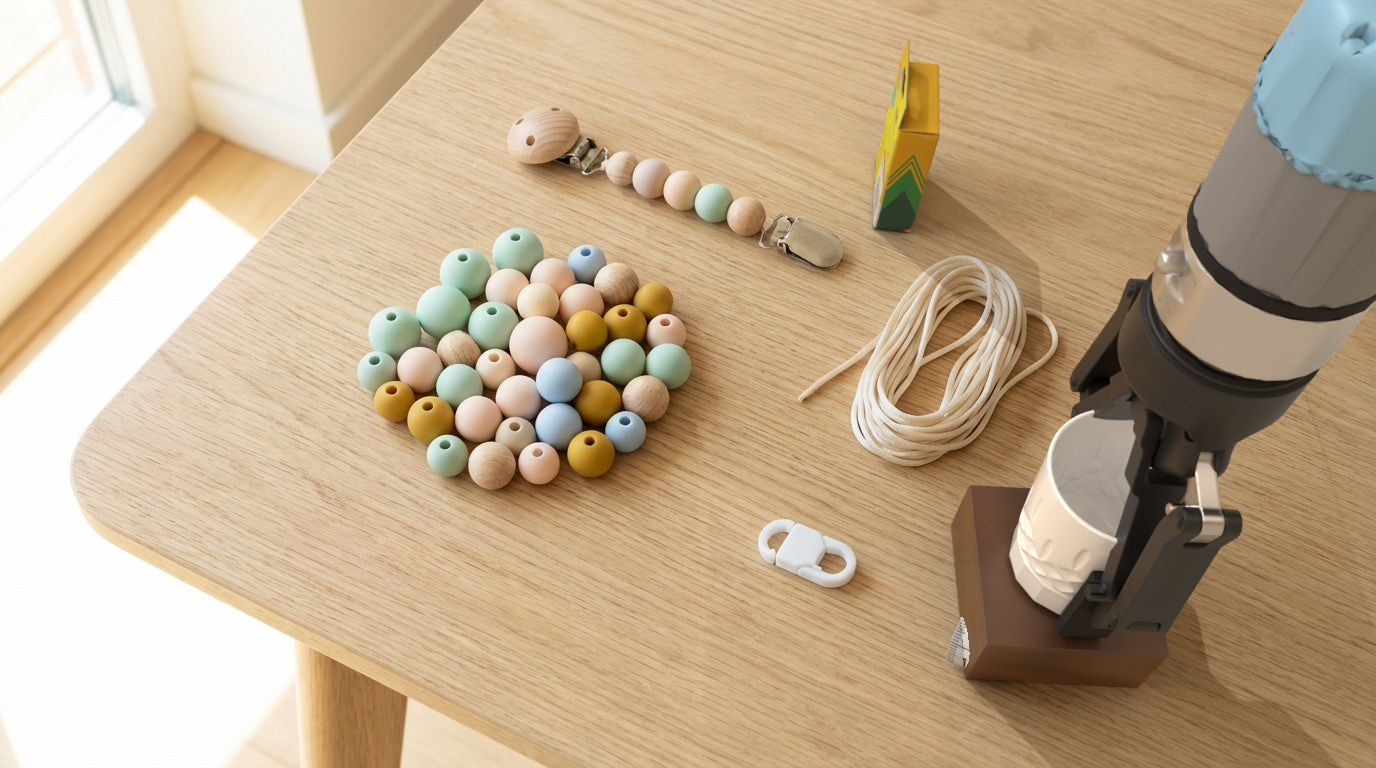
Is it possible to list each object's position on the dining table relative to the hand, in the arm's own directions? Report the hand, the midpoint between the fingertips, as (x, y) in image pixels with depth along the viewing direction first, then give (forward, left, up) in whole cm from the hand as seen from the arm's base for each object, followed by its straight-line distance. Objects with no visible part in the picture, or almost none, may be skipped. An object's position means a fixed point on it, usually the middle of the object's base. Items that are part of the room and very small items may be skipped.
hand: (1070, 561), depth 68 cm
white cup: (0, 0, 0) cm, 0 cm away
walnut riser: (0, 0, -6) cm, 6 cm away
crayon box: (+7, -32, -6) cm, 34 cm away
